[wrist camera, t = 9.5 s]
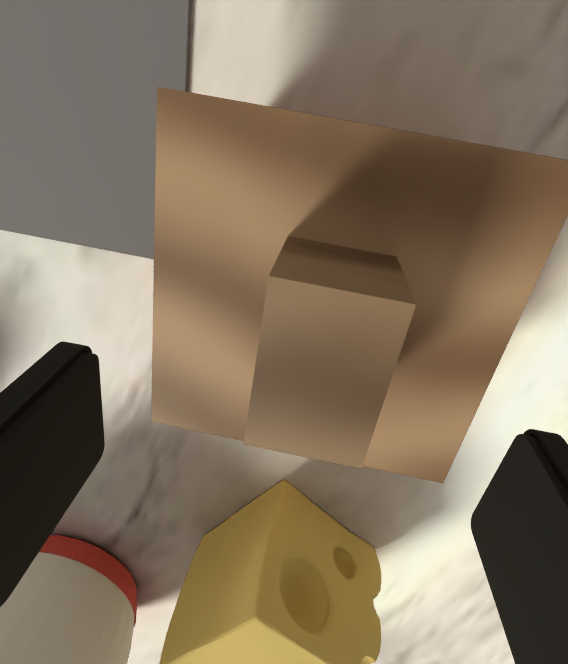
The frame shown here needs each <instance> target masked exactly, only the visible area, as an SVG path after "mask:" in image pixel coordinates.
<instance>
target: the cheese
mask: <svg viewBox="0 0 568 664" xmlns="http://www.w3.org/2000/svg"><path fill="white" fill-rule="evenodd" d="M380 588H381V569H380V564H379V560H378V557H377V554H376V551H375V549H374V548H373V547H372V546H370V545H369V544H368V543H366V542H365V541H363V540H362V539H360V538H359V537H357V536H356V535H354V534H352V533H351V532H349V531H348V530H347V529H345V528H344V527H343V526H341V525H340V524H339V523H338V522H336V521H335V520H334V519H333V518H332V517H330V516H329V515H328V514H326V513H325V512H324V511H322V510H321V509H320V508H319V507H317V506H316V505H315V504H314V503H313V502H311V501H310V500H309V499H308V498H307V497H305V496H304V495H303V494H302V493H301V492H299V491H298V490H297V489H296V488H295V487H293V486H292V485H291V484H290V483H288V482H287V481H285V480H283V481H281V482H279V483H278V484H277V485H275V486H274V487H272V488H271V489H269V490H268V491H266V492H265V493H263V494H262V495H260V496H259V497H258V498H256V499H255V500H253V501H252V502H250V503H249V504H247V505H246V506H245V507H243V508H242V509H240V510H239V511H238V512H236V513H235V514H234V515H232V516H231V517H230V518H228V519H227V520H226V521H224V522H223V523H222V524H220V525H219V526H218V527H216V528H215V529H213V530H212V531H210V532H209V533H207V534H206V535H204V536H203V537H202V540H201V542H200V544H199V547H198V549H197V551H196V553H195V556H194V558H193V560H192V563H191V565H190V567H189V570H188V573H187V575H186V578H185V581H184V584H183V586H182V589H181V592H180V595H179V598H178V601H177V603H176V606H175V609H174V612H173V615H172V618H171V621H170V624H169V628H168V631H167V635H166V639H165V643H164V647H163V651H162V655H161V659H160V664H370V663H373V662H375V661H376V660H377V658H378V655H379V651H380V645H381V626H380V619H379V617H378V615H377V613H376V611H375V608H374V606H373V599H374V598H375V597H376V596H377V595H378V593H379V592H380Z"/></svg>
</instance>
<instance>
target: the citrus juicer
mask: <svg viewBox="0 0 568 664" xmlns="http://www.w3.org/2000/svg"><path fill="white" fill-rule="evenodd" d="M136 610H137V588H136V585H135V581H134V580H133V578H132V576H131V574H130V573H129V572H128V570H127V569H126V568H125V567H124V566H123V565H122V564H121V563H120V562H119V561H118V560H117V559H115V558H114V557H113V556H111V555H110V554H108V553H107V552H105V551H104V550H102V549H100V548H98V547H96V546H94V545H92V544H89V543H87V542H84V541H81V540H78V539H74V538H69V537H65V536H62V535H54V536H49V538H48V539H47V541H46V542H45V544H44V545H43V547H42V548H41V550H40V551H39V553H38V554H37V556H36V557H35V559H34V560H33V562H32V563H31V565H30V566H29V568H28V569H27V571H26V572H25V574H24V575H23V577H22V578H21V580H20V582H19V583H18V585H17V586H16V588H15V589H14V591H13V592H12V594H11V595H10V597H9V598H8V599H7V601H6V602H5V603H4V604H3V605H2V606H1V607H0V664H127V661H128V657H129V653H130V649H131V642H132V635H133V628H134V626H135V623H136Z"/></svg>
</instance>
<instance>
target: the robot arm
mask: <svg viewBox="0 0 568 664" xmlns="http://www.w3.org/2000/svg"><path fill="white" fill-rule="evenodd" d="M103 451H104V428H103V414H102V400H101V386H100V371H99V359H98V356H97V355H96V354H92V350H91V349H90V347H88V346H85V345H79V344H74V343H68V342H60V343H58V344H57V345H55V346H54V347H53V348H52V349H51V350H50V351H48V352H47V353H46V354H45V355H44V356H43V357H41V358H40V359H39V360H38V361H37V362H36V363H34V364H33V365H32V366H31V367H30V368H29V369H28V370H26V371H25V372H24V373H23V374H22V375H21V376H19V377H18V378H17V379H16V380H15V381H14V382H12V383H11V384H10V385H9V386H8V387H7V388H5V389H4V390H3V391H2V392H1V393H0V607H1V606H2V605H3V604H4V603H5V602H6V601H7V599H8V598H9V597H10V595H11V594H12V592H13V591H14V589H15V588H16V586H17V585H18V583H19V582H20V580H21V578H22V577H23V575H24V574H25V572H26V571H27V569H28V568H29V566H30V565H31V563H32V562H33V560H34V559H35V557H36V556H37V554H38V553H39V551H40V550H41V548H42V547H43V545H44V544H45V542H46V541H47V539H48V538H49V536H50V535H51V533H52V532H53V530H54V528H55V527H56V525H57V524H58V522H59V521H60V519H61V518H62V516H63V515H64V513H65V512H66V510H67V509H68V507H69V506H70V504H71V503H72V501H73V500H74V498H75V497H76V495H77V494H78V492H79V491H80V489H81V488H82V486H83V485H84V483H85V482H86V480H87V478H88V477H89V475H90V474H91V472H92V471H93V469H94V468H95V466H96V465H97V463H98V462H99V460H100V458H101V456H102V454H103ZM471 529H472V533H473V536H474V539H475V542H476V545H477V549H478V552H479V555H480V558H481V561H482V564H483V567H484V570H485V573H486V576H487V579H488V582H489V585H490V588H491V591H492V594H493V597H494V600H495V603H496V606H497V609H498V612H499V615H500V619H501V622H502V625H503V628H504V631H505V634H506V637H507V640H508V643H509V646H510V649H511V652H512V655H513V658H514V661H515V664H568V444H567V443H566V442H565V440H564V439H563V438H562V437H561V436H560V435H558V434H555V433H549V432H544V431H539V430H533V429H529V430H527V431H525V432H524V434H519V435H517V436H516V437H515V439H514V441H513V442H512V444H511V446H510V448H509V449H508V451H507V453H506V455H505V457H504V458H503V460H502V462H501V464H500V466H499V467H498V469H497V471H496V473H495V475H494V476H493V478H492V480H491V482H490V484H489V485H488V487H487V489H486V491H485V493H484V494H483V496H482V498H481V500H480V502H479V503H478V505H477V507H476V509H475V510H474V512H473V514H472V518H471Z"/></svg>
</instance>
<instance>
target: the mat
mask: <svg viewBox="0 0 568 664" xmlns="http://www.w3.org/2000/svg"><path fill="white" fill-rule="evenodd" d="M190 6H191V0H0V230H5V231H10V232H16V233H21V234H26V235H31V236H36V237H41V238H47V239H52V240H57V241H62V242H67V243H73V244H78V245H83V246H88V247H93V248H98V249H104V250H109V251H114V252H119V253H124V254H129V255H135V256H140V257H145V258H150V259H154V233H155V173H156V113H157V87H162V88H168V89H174V90H179V91H185V92H187V75H188V52H189V29H190Z"/></svg>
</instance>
